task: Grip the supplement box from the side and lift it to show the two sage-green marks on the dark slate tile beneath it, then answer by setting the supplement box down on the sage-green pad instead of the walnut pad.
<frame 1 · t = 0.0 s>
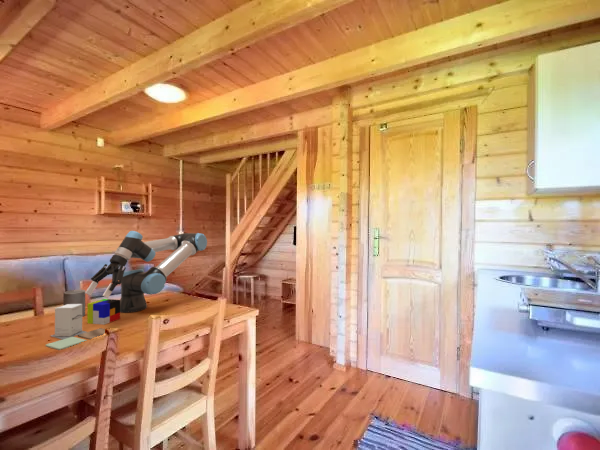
hand: (96, 295, 146), 15 cm above the table, tool tilted 35°, fingers open, 13 cm apart
sage pad: (66, 343, 125), on the table
walnut pad: (96, 334, 136), on the table
code tile: (68, 334, 137), on the table
puzzle toy: (104, 321, 156), on the table
supplement box: (68, 334, 137), resting on code tile
pillar candle: (74, 317, 163), on the table
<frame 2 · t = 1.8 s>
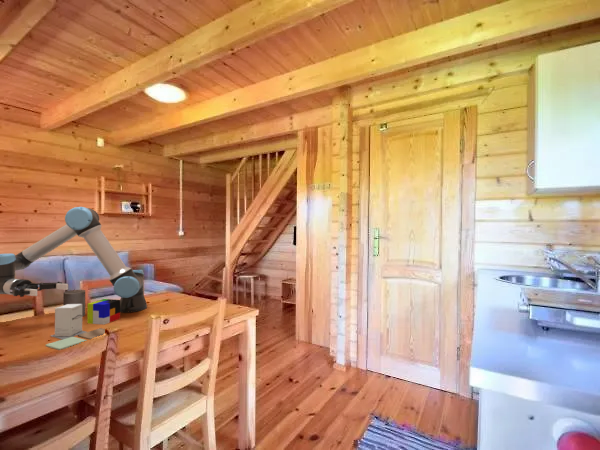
hand: (52, 289, 139), 20 cm above the table, tool horizontal, fingers open, 13 cm apart
nothing on the table moved.
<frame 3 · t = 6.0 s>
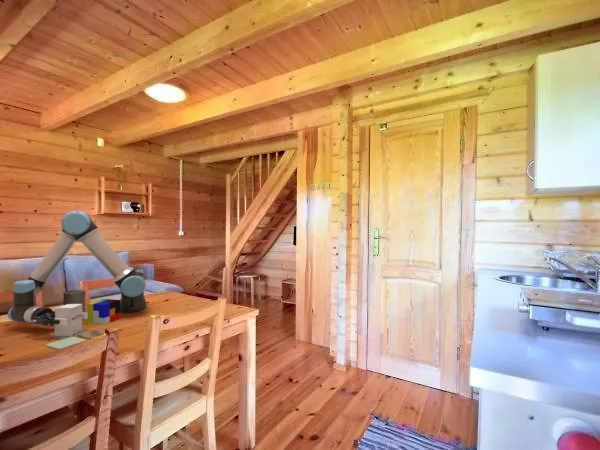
hand: (76, 319, 136), 7 cm above the table, tool horizontal, fingers closed on supplement box, 9 cm apart
supplement box: (68, 334, 137), resting on code tile, touching gripper
everything else where it was.
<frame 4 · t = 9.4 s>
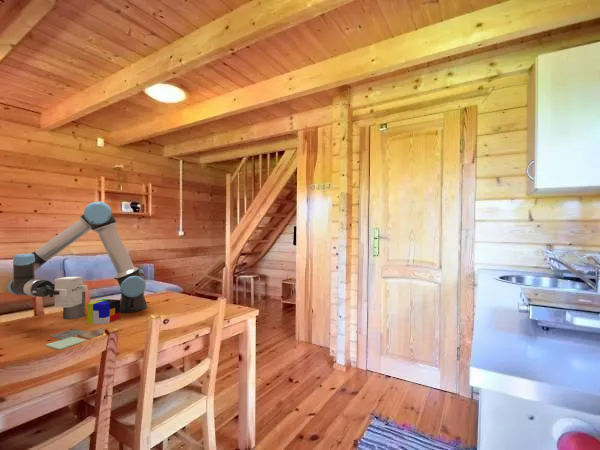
hand: (76, 290, 135), 20 cm above the table, tool horizontal, fingers closed on supplement box, 9 cm apart
supplement box: (68, 305, 137), point 13 cm above the table, touching gripper
everything else where it was.
when the fingers open (9 cm above the table, at t = 13.0 s): supplement box drops 1 cm, resting on sage pad.
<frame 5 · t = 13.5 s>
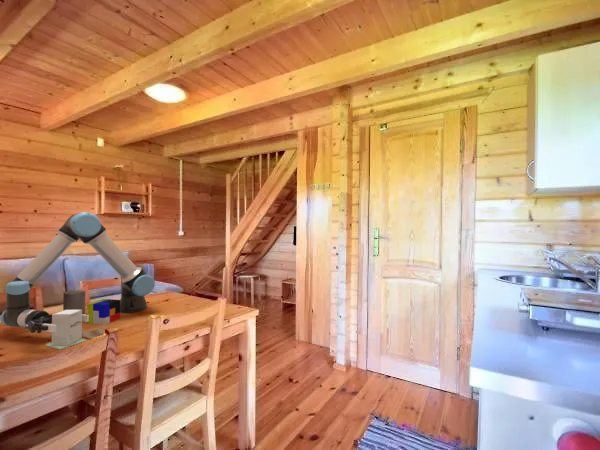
hand: (72, 323, 125), 9 cm above the table, tool horizontal, fingers open, 13 cm apart
supplement box: (67, 342, 126), resting on sage pad
everything else where it was.
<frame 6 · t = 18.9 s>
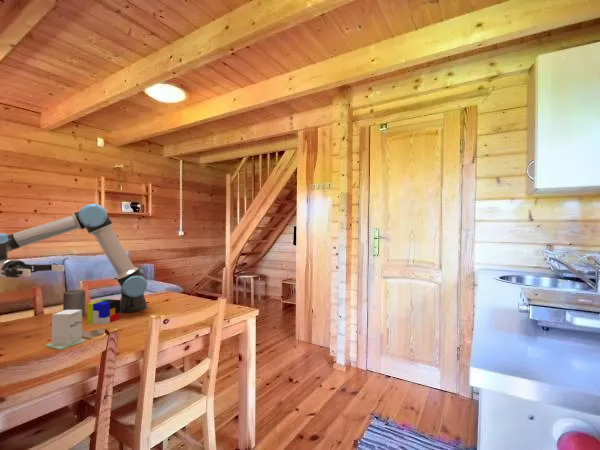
hand: (47, 270, 129), 30 cm above the table, tool horizontal, fingers open, 13 cm apart
nothing on the table moved.
at the end: supplement box inside the target area on the sage pad (0.3 cm from its centre), point 0.4 cm above the sage pad's base; supplement box tilted 0°; the gripper is holding nothing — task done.
